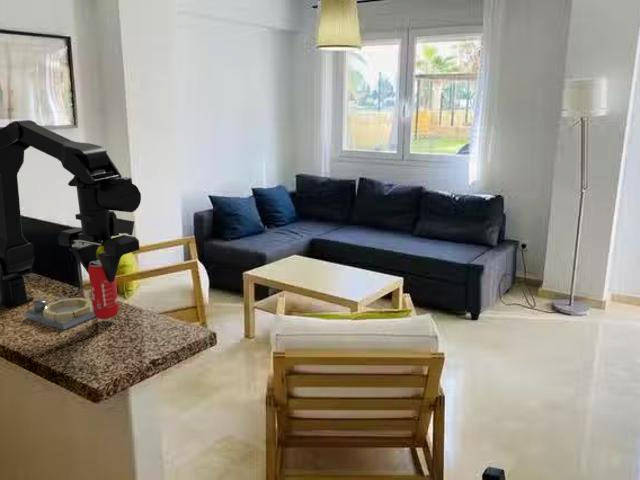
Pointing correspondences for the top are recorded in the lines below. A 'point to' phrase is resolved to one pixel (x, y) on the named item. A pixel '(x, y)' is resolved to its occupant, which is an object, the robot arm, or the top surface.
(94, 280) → the beverage can
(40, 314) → the grey plate with ring
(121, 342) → the top surface
